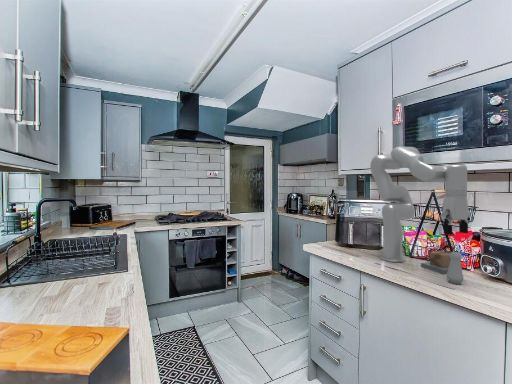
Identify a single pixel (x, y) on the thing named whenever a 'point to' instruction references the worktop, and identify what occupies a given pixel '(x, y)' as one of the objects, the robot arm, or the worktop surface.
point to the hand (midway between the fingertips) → (455, 233)
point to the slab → (435, 268)
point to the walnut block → (440, 259)
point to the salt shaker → (455, 268)
